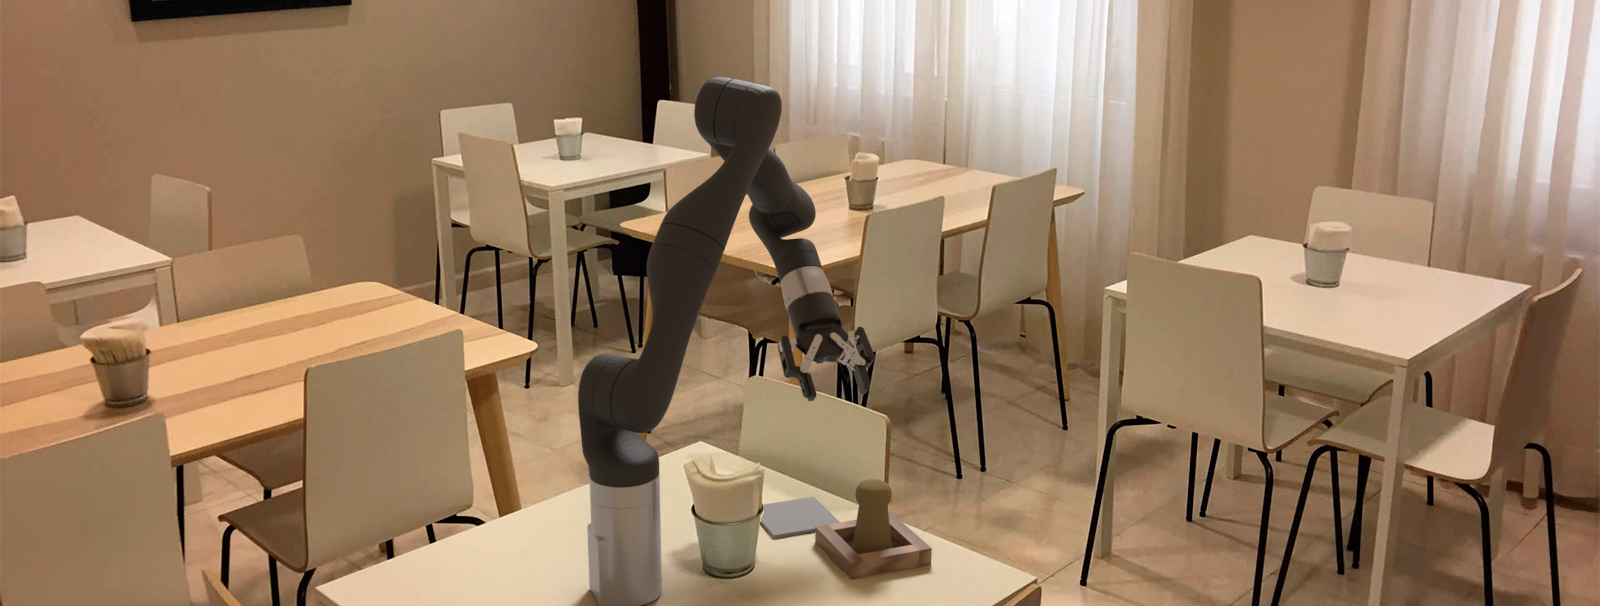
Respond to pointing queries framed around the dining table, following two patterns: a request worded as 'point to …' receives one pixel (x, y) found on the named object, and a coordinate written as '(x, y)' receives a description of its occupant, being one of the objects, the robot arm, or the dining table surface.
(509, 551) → the dining table surface
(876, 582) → the dining table surface
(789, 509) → the slate mat
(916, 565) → the walnut board
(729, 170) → the robot arm
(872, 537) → the cork
